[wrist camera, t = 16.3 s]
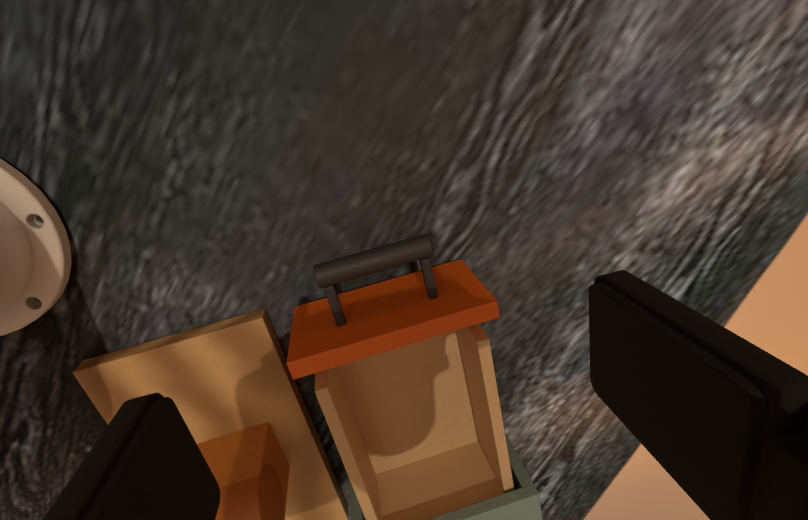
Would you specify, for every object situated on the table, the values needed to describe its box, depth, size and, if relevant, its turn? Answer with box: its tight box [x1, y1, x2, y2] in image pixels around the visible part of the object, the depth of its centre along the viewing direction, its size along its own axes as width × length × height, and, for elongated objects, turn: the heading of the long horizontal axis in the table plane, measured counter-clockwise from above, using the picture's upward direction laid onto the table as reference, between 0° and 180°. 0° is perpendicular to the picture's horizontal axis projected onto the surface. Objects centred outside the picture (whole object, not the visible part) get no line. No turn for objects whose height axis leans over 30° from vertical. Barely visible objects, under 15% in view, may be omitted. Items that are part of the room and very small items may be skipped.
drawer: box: [287, 234, 514, 520], centre depth 29 cm, size 22×13×7 cm, turn 12°
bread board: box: [73, 309, 348, 520], centre depth 33 cm, size 13×22×2 cm, turn 12°
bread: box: [197, 422, 290, 520], centre depth 29 cm, size 8×5×8 cm, turn 102°
